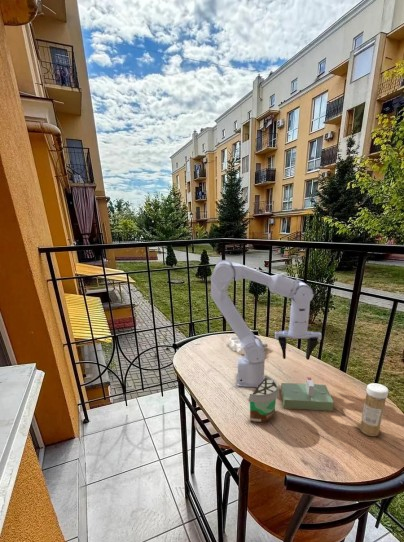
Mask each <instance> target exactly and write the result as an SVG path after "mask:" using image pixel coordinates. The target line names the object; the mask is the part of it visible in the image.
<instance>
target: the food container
mask: <svg viewBox="0 0 404 542" xmlns="http://www.w3.org/2000/svg"><path fill="white" fill-rule="evenodd" d="M277 382H278V381H276V380H275V379H274V378H272V377H270V376H268V375H264V380H263V381H262V382H261V383H260V384H259V385H258V387H255V389H254V391H253V392H252V393H249V395H248V402H249V414H250V415H249V417H250V419H249V421H250V423H252V424H259V425H261V424H267V423H269V422H271V421H273V419H274V418H275V417H274V416H275V410H276V403H277V398H278V397H279V396H280V388H279V387H280V386H279V384H278V383H277Z"/></svg>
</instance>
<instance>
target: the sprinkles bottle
mask: <svg viewBox="0 0 404 542" xmlns="http://www.w3.org/2000/svg"><path fill="white" fill-rule="evenodd" d="M365 392H366V393H365V394H366V395H365V400H364V404H363V410H362V414H361V422H360V425H359V430H360V431H361V432H362V434H364V435H366V436H370V437H376V436H378V435H379V434H380V429H381V425H382V421H383V416H384V409H385V406H386V401H387V397H388V395H389V388H388V387H387V386H385V385H384V384H380V383H375V382H372V383H368V384H367V386H366V390H365Z"/></svg>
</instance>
